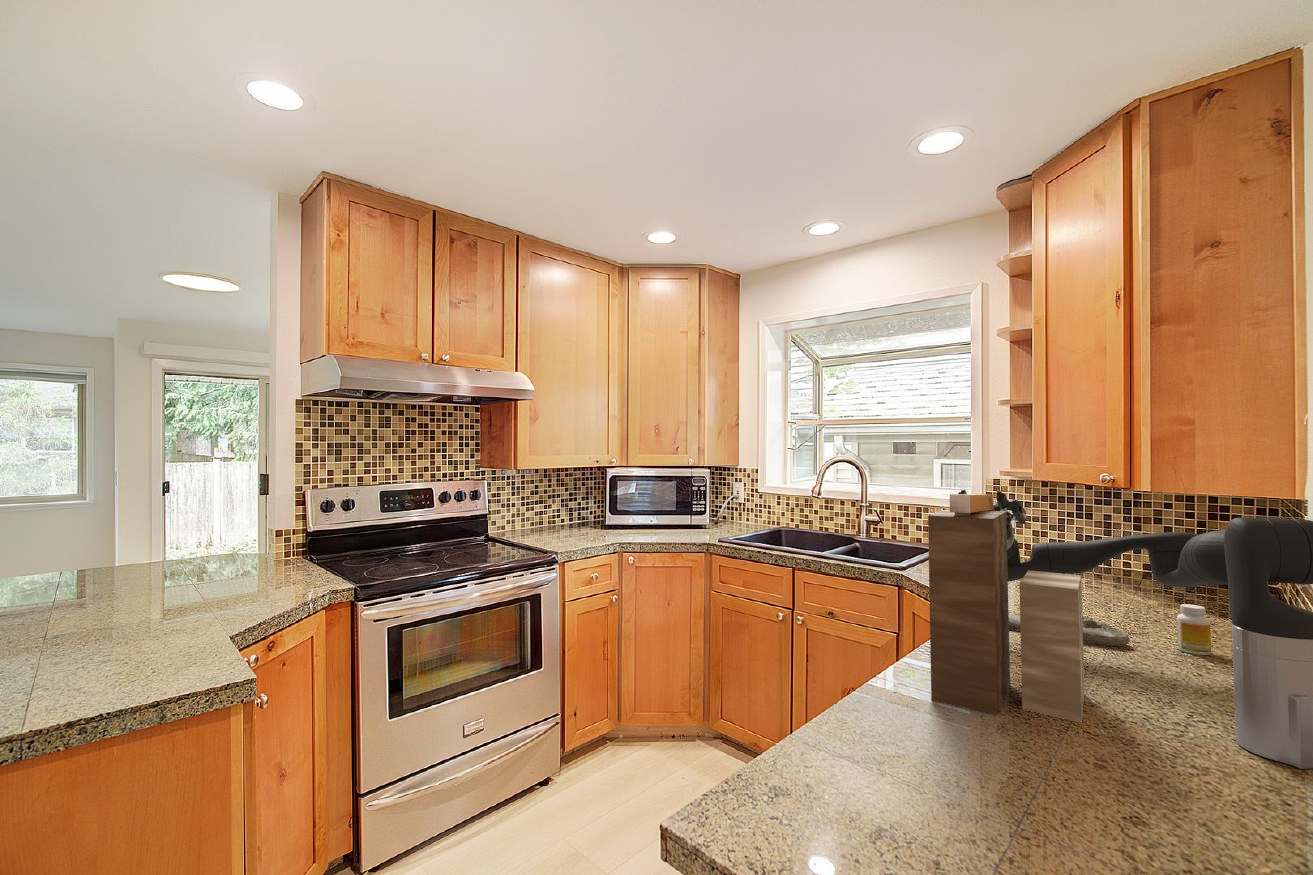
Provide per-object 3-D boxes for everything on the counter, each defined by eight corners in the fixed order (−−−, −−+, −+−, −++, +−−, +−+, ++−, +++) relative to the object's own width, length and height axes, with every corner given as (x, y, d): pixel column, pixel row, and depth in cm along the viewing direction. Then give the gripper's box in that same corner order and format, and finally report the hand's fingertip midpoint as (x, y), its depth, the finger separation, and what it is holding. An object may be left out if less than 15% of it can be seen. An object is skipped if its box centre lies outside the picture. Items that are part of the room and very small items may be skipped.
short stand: (1031, 684, 109) (1028, 570, 110) (1084, 694, 104) (1081, 575, 105) (1022, 709, 98) (1019, 583, 99) (1081, 722, 93) (1078, 589, 94)
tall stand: (950, 673, 115) (947, 505, 116) (1010, 685, 109) (1006, 508, 110) (931, 700, 102) (927, 511, 103) (997, 715, 96) (992, 515, 97)
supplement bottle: (1218, 656, 124) (1216, 609, 124) (1188, 654, 125) (1186, 608, 126) (1200, 648, 129) (1198, 603, 130) (1171, 646, 130) (1170, 602, 131)
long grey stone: (969, 618, 159) (955, 628, 153) (968, 599, 160) (953, 607, 153) (1134, 641, 134) (1125, 653, 127) (1131, 617, 134) (1122, 628, 127)
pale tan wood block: (976, 508, 122) (976, 494, 122) (993, 509, 120) (993, 494, 120) (949, 512, 101) (949, 494, 101) (969, 513, 99) (969, 494, 99)
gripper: (957, 512, 134) (943, 477, 123) (1032, 515, 126) (1023, 478, 114) (955, 542, 131) (939, 509, 120) (1031, 548, 122) (1022, 513, 111)
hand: (980, 494), depth 117 cm, fingers open, 5 cm apart
